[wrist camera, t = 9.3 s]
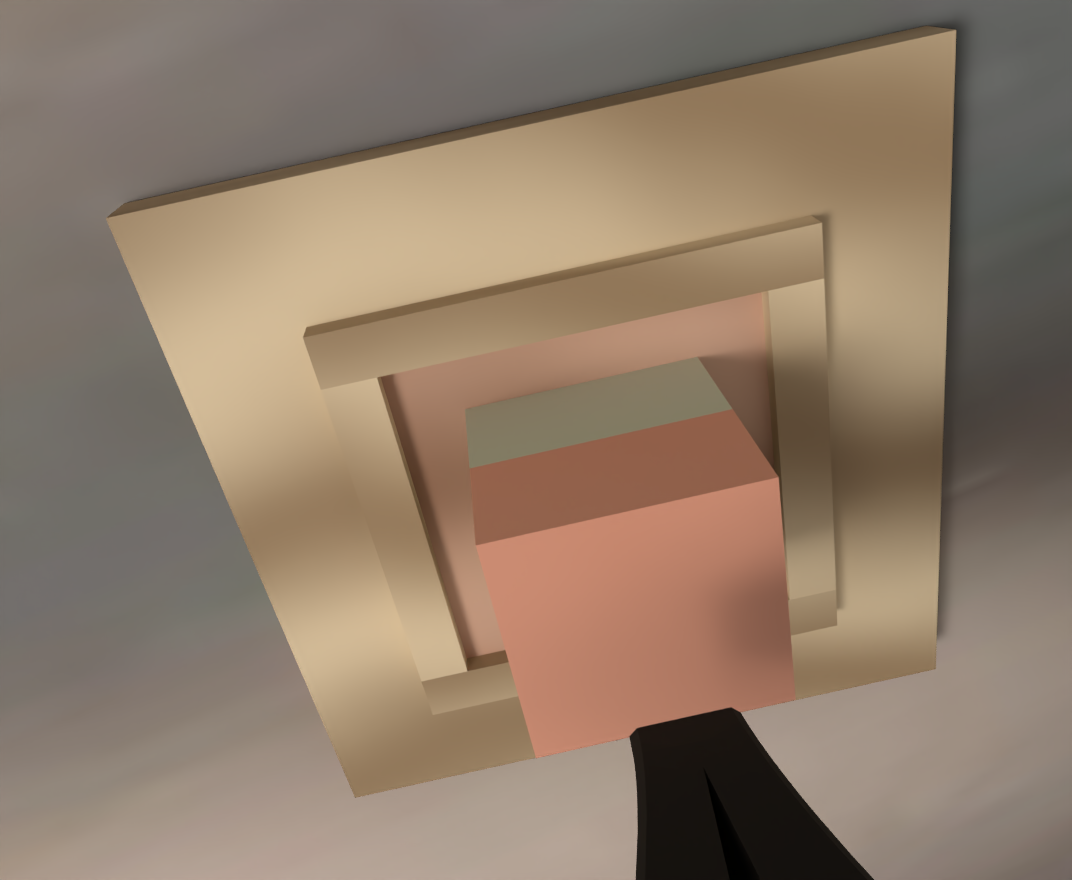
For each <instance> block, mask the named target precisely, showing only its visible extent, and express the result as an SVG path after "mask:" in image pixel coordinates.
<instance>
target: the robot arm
mask: <svg viewBox="0 0 1072 880" xmlns="http://www.w3.org/2000/svg"><path fill="white" fill-rule="evenodd" d="M629 737H630V742H631V747H632V752H633V757H634V763H635V771H636V782H637V805H638V839H637V863H636V880H874V879H873V878H872V877H871V876H870V875H869V874H868V872H867V871H866V870H865V869H864V868H863V867H862V866H861V865H860V864H859V863H858V862H857V861H856V859H855V858H854V857H853V856H852V855H851V854H850V853H849V852H848V851H847V849H846V848H845V847H844V846H843V845H842V844H841V843H840V841H839V840H838V839H837V838H836V837H835V836H834V835H833V833H832V832H831V831H830V830H829V829H828V828H827V826H826V825H825V824H824V823H823V822H822V821H821V820H820V818H819V817H818V816H817V815H816V814H815V813H814V812H813V810H812V809H811V808H810V807H809V805H808V804H807V803H806V802H805V801H804V799H803V798H802V797H801V796H800V795H799V793H798V792H797V791H796V789H795V788H794V787H793V786H792V784H791V783H790V782H789V781H788V779H787V778H786V777H785V775H784V774H783V773H782V772H781V770H780V769H779V768H778V766H777V765H776V764H775V762H774V761H773V760H772V758H771V757H770V756H769V754H768V753H767V752H766V750H765V749H764V747H763V746H762V745H761V743H760V742H759V740H758V739H757V737H756V736H755V734H754V733H753V731H752V730H751V728H750V727H749V725H748V724H747V722H746V721H745V719H744V717H743V716H742V714H741V713H740V712H739V711H737V710H735V709H734V708H732V707H729V708H725V709H720V710H716V711H711V712H707V713H702V714H698V715H693V716H689V717H684V718H680V719H675V720H670V721H666V722H661V723H657V724H652V725H648V726H643V727H639V728H636V730H635V731H634V732H633V733H632V734H631V735H630V736H629Z"/></svg>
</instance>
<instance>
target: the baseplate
mask: <svg viewBox="0 0 1072 880" xmlns="http://www.w3.org/2000/svg"><path fill="white" fill-rule="evenodd" d="M955 54H956V30H953V29H946V28H939V27H931V26H923V27H919V28H914V29H909V30H905V31H900V32H896V33H891V34H887V35H882V36H878V37H873V38H869V39H864V40H860V41H855V42H851V43H846V44H842V45H837V46H833V47H828V48H824V49H819V50H815V51H810V52H806V53H801V54H797V55H792V56H788V57H783V58H779V59H774V60H770V61H765V62H761V63H756V64H751V65H747V66H742V67H738V68H733V69H729V70H724V71H720V72H715V73H711V74H706V75H702V76H697V77H693V78H688V79H684V80H679V81H675V82H670V83H666V84H661V85H657V86H652V87H648V88H643V89H639V90H634V91H630V92H625V93H621V94H616V95H612V96H607V97H603V98H598V99H594V100H589V101H584V102H580V103H575V104H571V105H566V106H562V107H557V108H553V109H548V110H544V111H539V112H535V113H530V114H526V115H521V116H517V117H512V118H508V119H503V120H499V121H494V122H490V123H485V124H481V125H476V126H472V127H467V128H463V129H458V130H454V131H449V132H445V133H440V134H436V135H431V136H426V137H422V138H417V139H413V140H408V141H404V142H399V143H395V144H390V145H386V146H381V147H377V148H372V149H368V150H363V151H359V152H354V153H350V154H345V155H341V156H336V157H332V158H327V159H323V160H318V161H314V162H309V163H305V164H300V165H296V166H291V167H287V168H282V169H278V170H273V171H269V172H264V173H259V174H255V175H250V176H246V177H241V178H237V179H232V180H228V181H223V182H219V183H214V184H210V185H205V186H201V187H196V188H192V189H187V190H183V191H178V192H174V193H169V194H165V195H160V196H156V197H151V198H147V199H142V200H138V201H133V202H129V203H124V204H123V205H122V206H121V207H119V208H118V209H117V210H116V211H114V212H113V213H112V214H111V215H109V216H108V217H107V218H106V220H107V222H108V224H109V227H110V229H111V231H112V233H113V236H114V238H115V240H116V243H117V245H118V247H119V250H120V252H121V254H122V257H123V259H124V261H125V264H126V266H127V268H128V271H129V273H130V275H131V278H132V280H133V282H134V285H135V287H136V289H137V292H138V294H139V296H140V299H141V301H142V303H143V306H144V308H145V310H146V313H147V315H148V317H149V319H150V322H151V324H152V326H153V329H154V331H155V333H156V336H157V338H158V340H159V343H160V345H161V347H162V350H163V352H164V354H165V357H166V359H167V361H168V364H169V366H170V368H171V371H172V373H173V375H174V378H175V380H176V382H177V385H178V387H179V389H180V392H181V394H182V396H183V399H184V401H185V403H186V405H187V408H188V410H189V412H190V415H191V417H192V419H193V422H194V424H195V426H196V429H197V431H198V433H199V436H200V438H201V440H202V443H203V445H204V447H205V450H206V452H207V454H208V457H209V459H210V461H211V464H212V466H213V468H214V471H215V473H216V475H217V478H218V480H219V482H220V485H221V487H222V489H223V491H224V494H225V496H226V498H227V501H228V503H229V505H230V508H231V510H232V512H233V515H234V517H235V519H236V522H237V524H238V526H239V529H240V531H241V533H242V536H243V538H244V540H245V543H246V545H247V547H248V550H249V552H250V554H251V557H252V559H253V561H254V564H255V566H256V568H257V571H258V573H259V575H260V577H261V580H262V582H263V584H264V587H265V589H266V591H267V594H268V596H269V598H270V601H271V603H272V605H273V608H274V610H275V612H276V615H277V617H278V619H279V622H280V624H281V626H282V629H283V631H284V633H285V636H286V638H287V640H288V643H289V645H290V647H291V650H292V652H293V654H294V656H295V659H296V661H297V663H298V666H299V668H300V670H301V673H302V675H303V677H304V680H305V682H306V684H307V687H308V689H309V691H310V694H311V696H312V698H313V701H314V703H315V705H316V708H317V710H318V712H319V715H320V717H321V719H322V722H323V724H324V726H325V729H326V731H327V733H328V736H329V738H330V740H331V742H332V745H333V747H334V749H335V752H336V754H337V756H338V759H339V761H340V763H341V766H342V768H343V770H344V773H345V775H346V777H347V780H348V782H349V784H350V787H351V789H352V791H353V794H354V796H355V798H356V797H360V796H365V795H369V794H374V793H378V792H383V791H388V790H392V789H397V788H401V787H406V786H410V785H415V784H419V783H424V782H428V781H433V780H437V779H442V778H446V777H451V776H455V775H460V774H464V773H469V772H473V771H478V770H482V769H487V768H491V767H496V766H500V765H505V764H509V763H514V762H518V761H523V760H527V759H532V758H536V757H535V753H534V750H533V746H532V743H531V739H530V735H529V732H528V728H527V725H526V721H525V718H524V714H523V711H522V707H521V704H520V700H519V697H518V693H517V690H516V686H515V683H514V679H513V675H512V672H511V668H510V665H509V661H508V658H507V654H506V651H505V647H504V644H503V640H502V637H501V633H500V630H499V626H498V623H497V619H496V615H495V612H494V608H493V605H492V601H491V598H490V594H489V591H488V587H487V584H486V580H485V577H484V573H483V570H482V566H481V563H480V559H479V555H478V552H477V548H476V543H475V531H474V518H473V505H472V493H471V480H470V467H469V455H468V442H467V430H466V417H465V409H468V408H473V407H477V406H482V405H486V404H490V403H495V402H499V401H504V400H508V399H513V398H517V397H521V396H526V395H530V394H535V393H539V392H544V391H548V390H552V389H557V388H561V387H566V386H570V385H575V384H579V383H583V382H588V381H592V380H597V379H601V378H606V377H610V376H614V375H619V374H623V373H628V372H632V371H637V370H641V369H645V368H650V367H654V366H659V365H663V364H668V363H672V362H676V361H681V360H685V359H690V358H694V357H698V358H699V360H700V361H701V363H702V364H703V366H704V367H705V369H706V370H707V372H708V373H709V375H710V376H711V378H712V379H713V381H714V382H715V384H716V385H717V387H718V388H719V390H720V391H721V393H722V394H723V396H724V397H725V398H726V400H727V401H728V403H729V404H730V406H731V407H732V409H733V410H734V412H735V413H736V415H737V416H738V418H739V419H740V421H741V422H742V424H743V425H744V427H745V428H746V430H747V431H748V433H749V434H750V436H751V437H752V439H753V440H754V442H755V443H756V444H757V446H758V447H759V449H760V450H761V452H762V453H763V455H764V456H765V458H766V459H767V461H768V462H769V464H770V465H771V467H772V468H773V470H774V471H775V473H776V474H777V476H778V477H779V489H780V502H781V515H782V528H783V541H784V554H785V567H786V580H787V593H788V606H789V619H790V632H791V645H792V657H793V670H794V683H795V696H796V700H798V699H803V698H807V697H812V696H816V695H821V694H825V693H830V692H834V691H839V690H843V689H848V688H852V687H857V686H861V685H866V684H870V683H875V682H879V681H884V680H888V679H893V678H897V677H902V676H906V675H911V674H915V673H920V672H924V671H929V670H933V669H936V641H937V610H938V579H939V548H940V517H941V487H942V456H943V425H944V394H945V363H946V332H947V301H948V270H949V239H950V208H951V178H952V147H953V116H954V85H955ZM792 701H794V700H792ZM788 702H789V701H788ZM784 703H785V702H784ZM779 704H780V703H779ZM775 705H776V704H775ZM770 706H771V705H770ZM761 708H762V707H761ZM752 710H753V709H752Z"/></svg>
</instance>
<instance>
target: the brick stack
mask: <svg viewBox="0 0 1072 880" xmlns="http://www.w3.org/2000/svg"><path fill="white" fill-rule="evenodd" d="M465 417H466V430H467V442H468V455H469V467H470V480H471V493H472V505H473V518H474V531H475V543H476V548H477V552H478V555H479V559H480V563H481V566H482V570H483V573H484V577H485V580H486V584H487V587H488V591H489V594H490V598H491V601H492V605H493V608H494V612H495V615H496V619H497V623H498V626H499V630H500V633H501V637H502V640H503V644H504V647H505V651H506V654H507V658H508V661H509V665H510V668H511V672H512V675H513V679H514V683H515V686H516V690H517V693H518V697H519V700H520V704H521V707H522V711H523V714H524V718H525V721H526V725H527V728H528V732H529V735H530V739H531V743H532V746H533V750H534V753H535V757H536V758H539V757H544V756H548V755H552V754H557V753H561V752H566V751H570V750H575V749H579V748H584V747H588V746H592V745H597V744H601V743H606V742H610V741H615V740H619V739H624V738H628V737H629V736H630V735H631V734H632V733H633V732H634V731H635V730H636V728H639V727H643V726H648V725H652V724H657V723H661V722H666V721H670V720H675V719H680V718H684V717H689V716H693V715H698V714H702V713H707V712H711V711H716V710H720V709H725V708H729V707H732V708H734V709H735V710H737V711H739V712H744V711H748V710H752V709H757V708H761V707H766V706H770V705H775V704H779V703H784V702H788V701H792V700H796V696H795V683H794V670H793V657H792V645H791V632H790V619H789V606H788V593H787V580H786V567H785V554H784V541H783V528H782V515H781V502H780V489H779V477H778V476H777V474H776V473H775V471H774V470H773V468H772V467H771V465H770V464H769V462H768V461H767V459H766V458H765V456H764V455H763V453H762V452H761V450H760V449H759V447H758V446H757V444H756V443H755V442H754V440H753V439H752V437H751V436H750V434H749V433H748V431H747V430H746V428H745V427H744V425H743V424H742V422H741V421H740V419H739V418H738V416H737V415H736V413H735V412H734V410H733V409H732V407H731V406H730V404H729V403H728V401H727V400H726V398H725V397H724V396H723V394H722V393H721V391H720V390H719V388H718V387H717V385H716V384H715V382H714V381H713V379H712V378H711V376H710V375H709V373H708V372H707V370H706V369H705V367H704V366H703V364H702V363H701V361H700V360H699V358H698V357H694V358H690V359H685V360H681V361H676V362H672V363H668V364H663V365H659V366H654V367H650V368H645V369H641V370H637V371H632V372H628V373H623V374H619V375H614V376H610V377H606V378H601V379H597V380H592V381H588V382H583V383H579V384H575V385H570V386H566V387H561V388H557V389H552V390H548V391H544V392H539V393H535V394H530V395H526V396H521V397H517V398H513V399H508V400H504V401H499V402H495V403H490V404H486V405H482V406H477V407H473V408H468V409H465Z"/></svg>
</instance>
